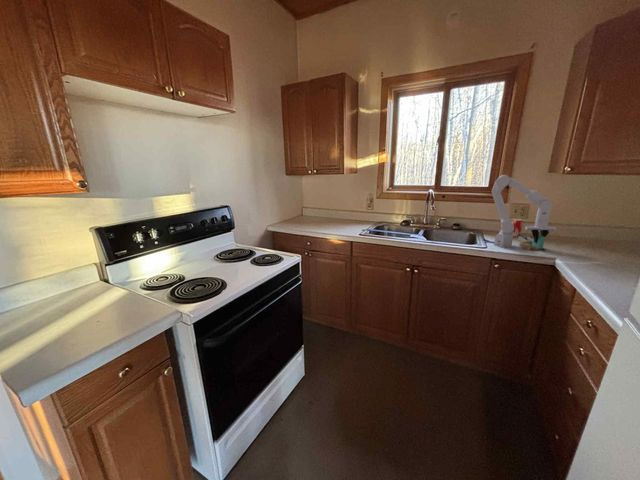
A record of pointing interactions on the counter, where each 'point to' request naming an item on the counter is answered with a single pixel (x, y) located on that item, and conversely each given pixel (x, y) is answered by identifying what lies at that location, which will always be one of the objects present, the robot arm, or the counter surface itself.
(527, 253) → the counter surface
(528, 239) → the stand
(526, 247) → the offcut
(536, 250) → the rack
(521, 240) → the offcut
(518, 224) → the soda can
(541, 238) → the board
